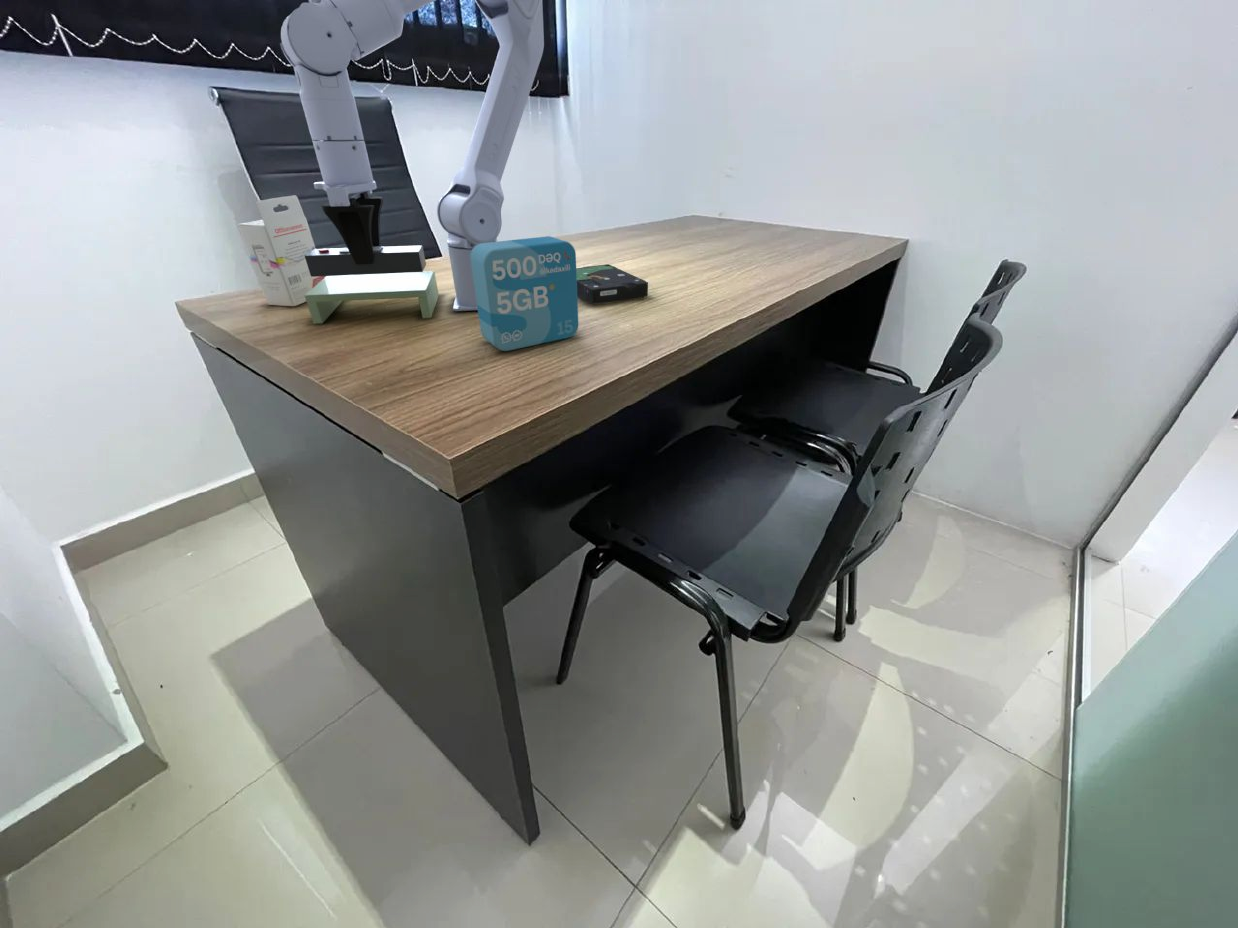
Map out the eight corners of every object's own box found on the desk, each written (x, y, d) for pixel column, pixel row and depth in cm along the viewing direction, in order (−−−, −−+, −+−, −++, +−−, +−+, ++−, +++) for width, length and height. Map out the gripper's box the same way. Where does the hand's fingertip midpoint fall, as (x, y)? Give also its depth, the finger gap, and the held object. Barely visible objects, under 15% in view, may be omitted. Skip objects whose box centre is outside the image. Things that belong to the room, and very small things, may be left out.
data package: (495, 354, 63) (482, 250, 56) (481, 343, 66) (467, 244, 60) (579, 336, 69) (576, 240, 62) (563, 327, 72) (558, 234, 65)
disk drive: (649, 299, 84) (608, 278, 95) (650, 282, 83) (608, 262, 94) (592, 307, 80) (556, 284, 91) (592, 289, 79) (555, 268, 89)
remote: (426, 265, 73) (421, 243, 71) (422, 272, 69) (418, 249, 68) (320, 269, 70) (313, 246, 69) (310, 276, 67) (303, 253, 65)
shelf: (438, 295, 85) (434, 270, 83) (431, 317, 75) (425, 290, 73) (335, 300, 82) (328, 274, 80) (313, 324, 72) (304, 295, 70)
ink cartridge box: (304, 291, 87) (272, 193, 79) (330, 293, 86) (300, 194, 78) (265, 305, 80) (226, 200, 72) (293, 307, 79) (256, 201, 71)
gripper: (319, 139, 67) (349, 250, 74) (282, 142, 55) (322, 273, 62) (376, 139, 68) (400, 248, 76) (352, 142, 56) (383, 270, 64)
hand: (368, 259), depth 69 cm, fingers closed on remote, 4 cm apart
